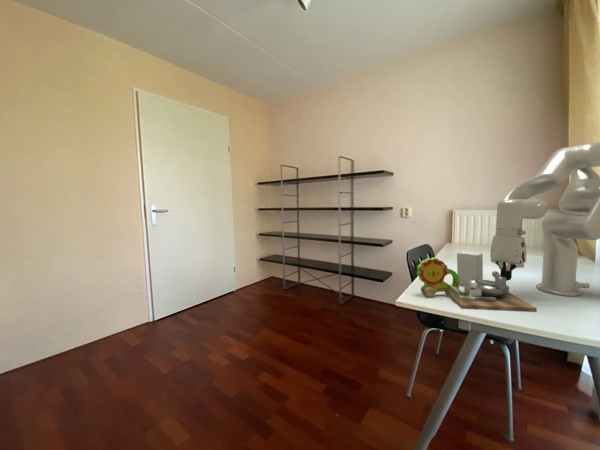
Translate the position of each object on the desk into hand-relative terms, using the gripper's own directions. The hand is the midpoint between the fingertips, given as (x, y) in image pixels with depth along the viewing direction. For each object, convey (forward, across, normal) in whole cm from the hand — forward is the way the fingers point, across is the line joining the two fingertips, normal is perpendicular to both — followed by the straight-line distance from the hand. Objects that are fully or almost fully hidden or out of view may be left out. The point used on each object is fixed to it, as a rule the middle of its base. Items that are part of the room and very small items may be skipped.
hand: (505, 279), depth 97 cm
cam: (+5, +2, +5) cm, 8 cm away
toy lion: (+7, +12, +21) cm, 26 cm away
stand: (+7, 0, +10) cm, 13 cm away
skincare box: (+7, +15, -2) cm, 17 cm away
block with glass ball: (+6, +3, +14) cm, 16 cm away
